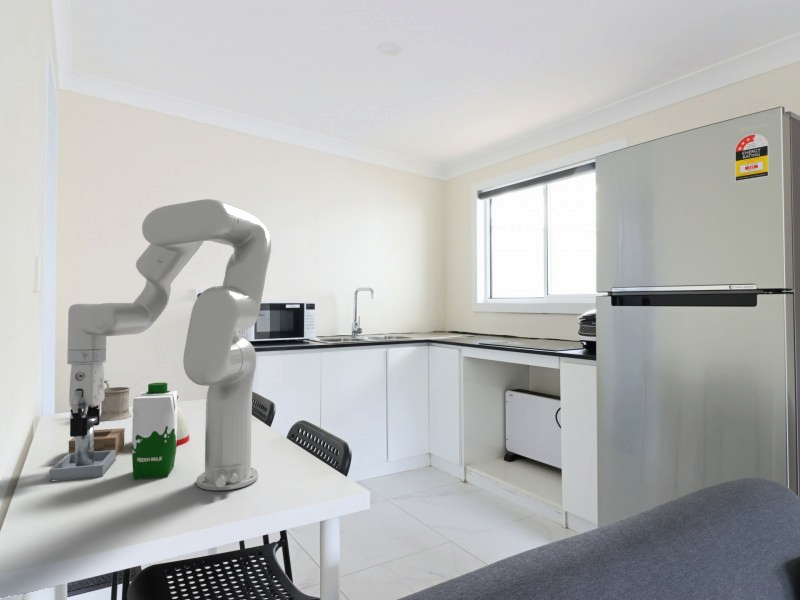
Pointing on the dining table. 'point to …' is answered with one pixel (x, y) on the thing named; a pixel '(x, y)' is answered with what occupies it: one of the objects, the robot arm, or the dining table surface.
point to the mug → (115, 404)
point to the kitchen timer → (181, 428)
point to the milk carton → (154, 432)
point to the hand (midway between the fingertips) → (85, 430)
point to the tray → (68, 470)
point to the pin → (85, 445)
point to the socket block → (105, 440)
